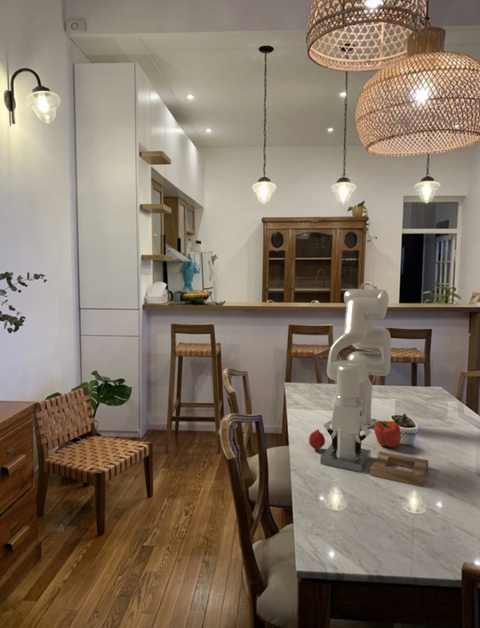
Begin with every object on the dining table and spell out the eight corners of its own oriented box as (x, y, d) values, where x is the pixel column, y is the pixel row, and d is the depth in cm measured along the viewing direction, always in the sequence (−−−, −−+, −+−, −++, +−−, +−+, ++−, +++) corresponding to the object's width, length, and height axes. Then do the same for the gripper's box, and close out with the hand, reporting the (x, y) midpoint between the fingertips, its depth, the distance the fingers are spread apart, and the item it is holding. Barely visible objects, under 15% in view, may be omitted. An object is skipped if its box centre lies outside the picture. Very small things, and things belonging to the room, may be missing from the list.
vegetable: (381, 452, 165) (382, 425, 164) (366, 442, 175) (367, 417, 174) (407, 449, 168) (408, 423, 167) (391, 439, 178) (391, 414, 177)
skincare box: (352, 457, 160) (353, 425, 159) (356, 462, 156) (357, 429, 155) (335, 457, 160) (336, 425, 159) (338, 463, 156) (339, 429, 155)
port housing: (379, 458, 160) (379, 450, 160) (428, 467, 153) (428, 459, 152) (370, 475, 147) (370, 466, 146) (422, 486, 139) (423, 477, 139)
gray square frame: (332, 449, 167) (332, 443, 167) (370, 457, 161) (370, 450, 161) (320, 463, 155) (320, 456, 155) (361, 472, 149) (361, 465, 148)
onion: (312, 453, 164) (313, 432, 163) (306, 447, 169) (306, 427, 168) (327, 452, 165) (327, 431, 164) (320, 446, 171) (320, 425, 170)
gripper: (375, 401, 155) (373, 451, 157) (326, 394, 163) (325, 442, 165) (370, 407, 149) (369, 459, 150) (319, 399, 157) (318, 449, 158)
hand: (346, 449), depth 158 cm, fingers closed on skincare box, 7 cm apart
